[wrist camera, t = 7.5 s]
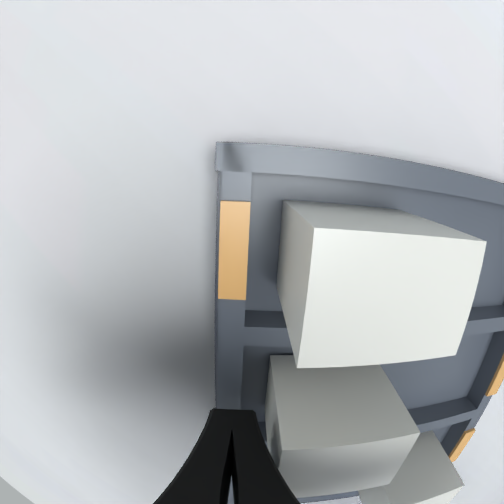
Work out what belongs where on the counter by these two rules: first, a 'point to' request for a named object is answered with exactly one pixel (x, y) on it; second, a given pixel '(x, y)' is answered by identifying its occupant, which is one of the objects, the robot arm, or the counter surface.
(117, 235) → the counter surface
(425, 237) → the off-white plastic block
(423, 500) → the pale grey block
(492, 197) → the grey divided tray
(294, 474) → the off-white block
